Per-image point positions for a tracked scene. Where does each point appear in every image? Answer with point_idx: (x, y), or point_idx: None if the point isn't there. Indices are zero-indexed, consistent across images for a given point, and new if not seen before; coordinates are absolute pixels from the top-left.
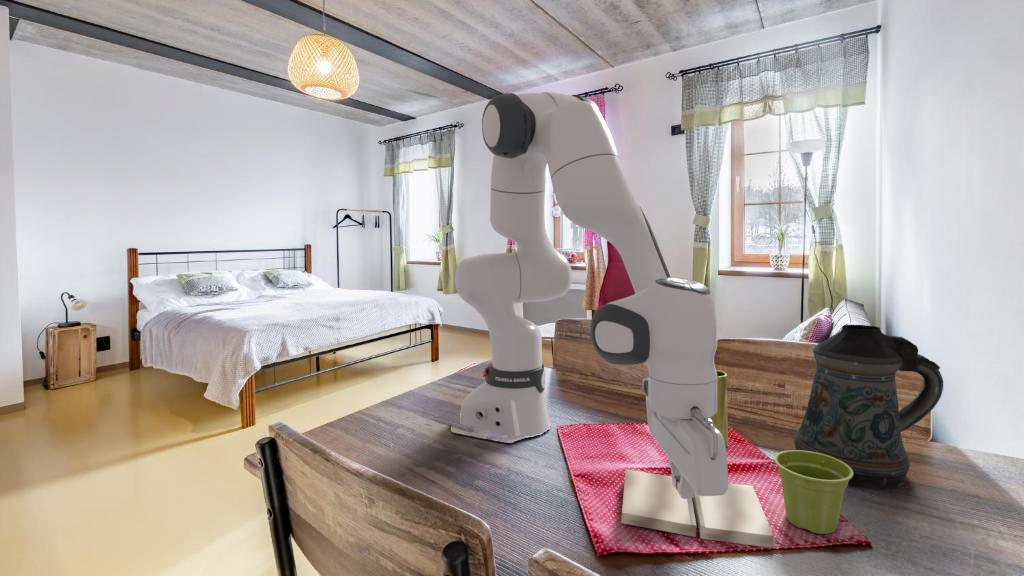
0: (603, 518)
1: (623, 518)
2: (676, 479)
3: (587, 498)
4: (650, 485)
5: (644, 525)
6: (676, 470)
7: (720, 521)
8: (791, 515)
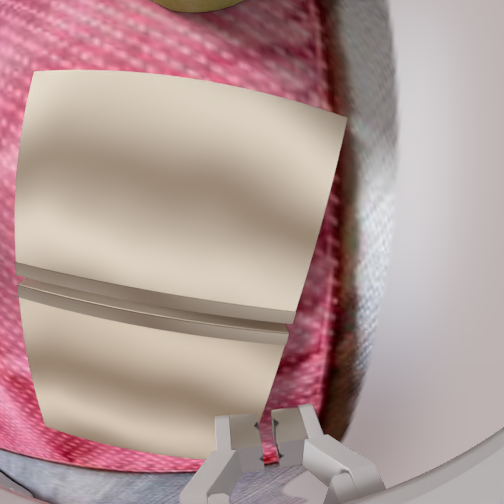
0: None
1: None
2: (262, 468)
3: (144, 463)
4: (96, 400)
5: None
6: (229, 483)
7: (266, 258)
8: (218, 1)
